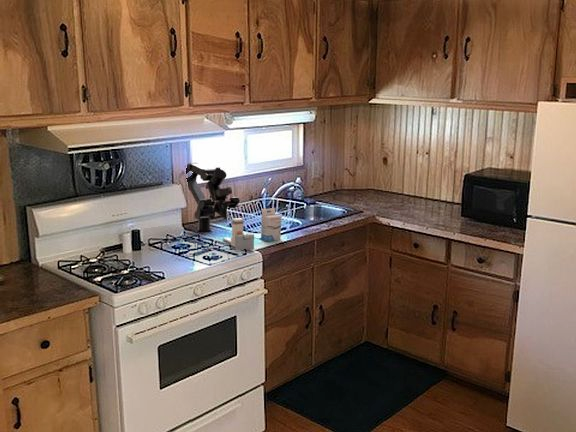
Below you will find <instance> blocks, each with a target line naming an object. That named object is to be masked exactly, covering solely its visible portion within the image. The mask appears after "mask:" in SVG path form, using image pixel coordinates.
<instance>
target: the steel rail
mask: <svg viewBox="0 0 576 432" xmlns="http://www.w3.org/2000/svg"><path fill="white" fill-rule="evenodd" d="M231 238H232V237H231ZM231 238H230V237H224V238H222V241H223V242H224V243H227V244H229V245H231Z"/></svg>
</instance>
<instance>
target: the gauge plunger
mask: <svg viewBox="0 0 576 432" xmlns="http://www.w3.org/2000/svg"><path fill="white" fill-rule="evenodd" d="M246 234H247V233H245V232H243V233H242V232H241V231H238V232H237V235H243V236H244V237H243V238H244V239H247V240H249V238H250V236H249V235H246Z"/></svg>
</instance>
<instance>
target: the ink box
mask: <svg viewBox="0 0 576 432" xmlns="http://www.w3.org/2000/svg"><path fill="white" fill-rule="evenodd" d="M260 223H261V226H260V227H261V229H260V240H261V241H264V242H272V241H273V242H274V241H279V240H281V236H282V235H281V234H282V233H281V232H282V215H280V214H276V207H272V208H271V207H270V208H264V209H262V210H261V222H260Z"/></svg>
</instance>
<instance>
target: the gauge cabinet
mask: <svg viewBox="0 0 576 432" xmlns="http://www.w3.org/2000/svg"><path fill="white" fill-rule="evenodd" d="M245 234H246V235H249V236H250V238H249V240H247V239H244V238H243V237H244V236H243V235H235V247H234V250H235V249H237V250H241V251H246V250H247V251H248V250H254V249H255V234H253V233H245ZM244 249H246V250H244ZM237 250H236V251H237Z"/></svg>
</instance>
